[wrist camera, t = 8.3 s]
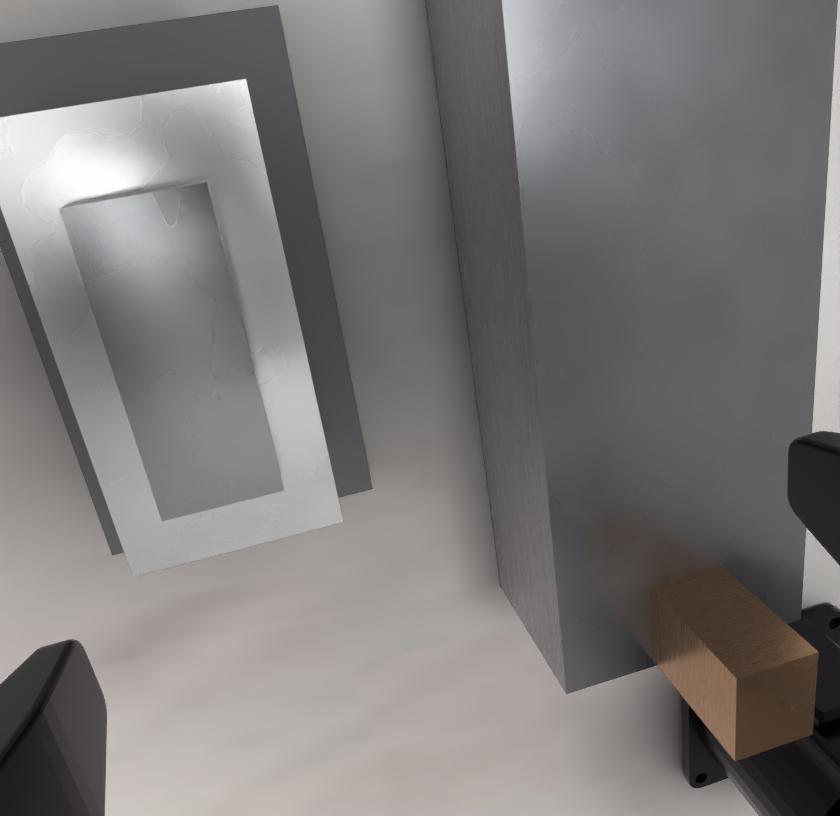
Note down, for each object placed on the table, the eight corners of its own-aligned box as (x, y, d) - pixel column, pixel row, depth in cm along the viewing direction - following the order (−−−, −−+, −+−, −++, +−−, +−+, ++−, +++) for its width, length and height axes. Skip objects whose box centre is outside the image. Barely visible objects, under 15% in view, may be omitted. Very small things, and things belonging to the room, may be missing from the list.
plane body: (696, 530, 26) (904, 708, 18) (500, 586, 24) (633, 803, 17) (691, -304, 17) (1084, -646, 9) (389, -282, 16) (557, -652, 8)
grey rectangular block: (319, 449, 20) (349, 540, 16) (147, 491, 20) (129, 599, 15) (238, 86, 17) (247, 76, 13) (24, 120, 16) (-45, 122, 12)
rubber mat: (367, 476, 22) (372, 489, 21) (115, 539, 21) (112, 555, 20) (275, 9, 17) (277, 5, 16) (-58, 55, 16) (-70, 53, 15)
